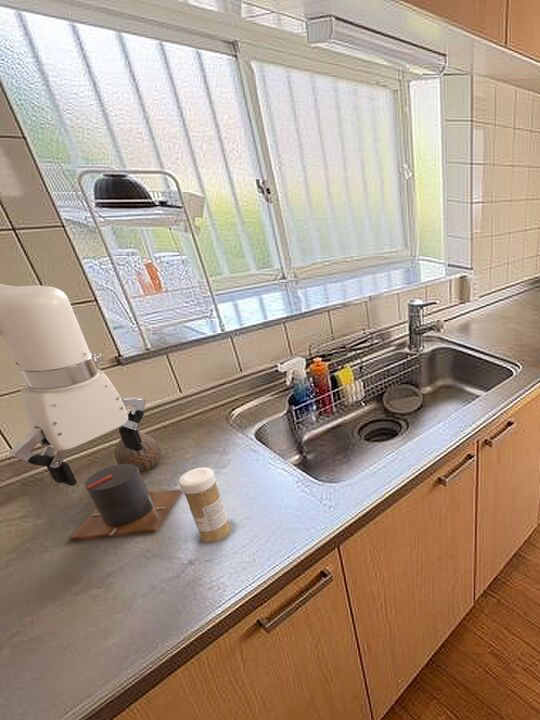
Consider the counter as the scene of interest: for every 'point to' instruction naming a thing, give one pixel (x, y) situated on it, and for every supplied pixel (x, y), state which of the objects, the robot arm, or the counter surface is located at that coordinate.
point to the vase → (139, 453)
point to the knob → (119, 494)
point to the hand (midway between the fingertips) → (103, 464)
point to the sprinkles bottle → (205, 504)
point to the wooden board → (147, 523)
